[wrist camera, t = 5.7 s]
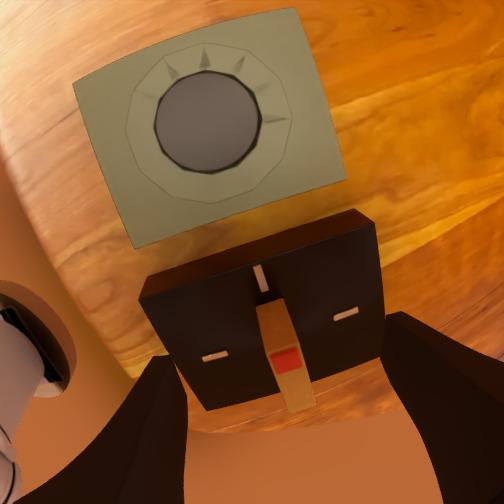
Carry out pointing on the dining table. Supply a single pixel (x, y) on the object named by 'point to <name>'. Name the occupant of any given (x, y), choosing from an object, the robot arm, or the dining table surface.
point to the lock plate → (267, 290)
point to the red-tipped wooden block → (285, 355)
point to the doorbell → (242, 171)
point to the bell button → (206, 121)
